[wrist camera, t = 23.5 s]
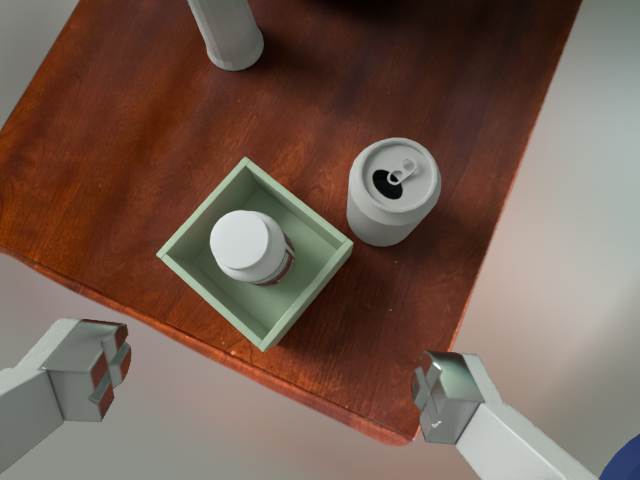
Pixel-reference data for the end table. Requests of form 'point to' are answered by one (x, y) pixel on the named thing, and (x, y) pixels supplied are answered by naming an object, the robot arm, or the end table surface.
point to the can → (391, 190)
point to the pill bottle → (252, 248)
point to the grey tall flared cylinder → (228, 32)
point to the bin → (244, 298)
